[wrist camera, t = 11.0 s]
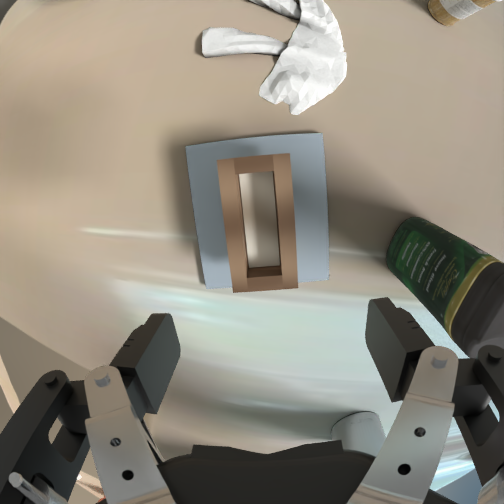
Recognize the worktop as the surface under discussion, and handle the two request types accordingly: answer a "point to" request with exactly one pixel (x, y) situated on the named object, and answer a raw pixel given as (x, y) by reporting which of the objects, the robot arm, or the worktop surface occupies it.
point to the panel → (304, 194)
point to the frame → (259, 221)
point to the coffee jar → (451, 282)
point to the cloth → (291, 53)
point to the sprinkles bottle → (455, 9)
